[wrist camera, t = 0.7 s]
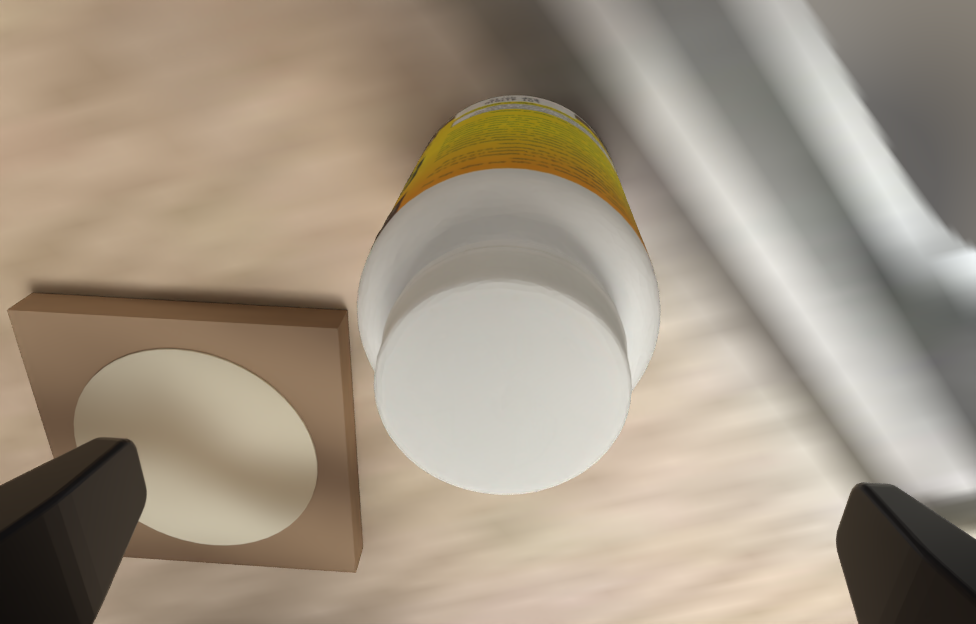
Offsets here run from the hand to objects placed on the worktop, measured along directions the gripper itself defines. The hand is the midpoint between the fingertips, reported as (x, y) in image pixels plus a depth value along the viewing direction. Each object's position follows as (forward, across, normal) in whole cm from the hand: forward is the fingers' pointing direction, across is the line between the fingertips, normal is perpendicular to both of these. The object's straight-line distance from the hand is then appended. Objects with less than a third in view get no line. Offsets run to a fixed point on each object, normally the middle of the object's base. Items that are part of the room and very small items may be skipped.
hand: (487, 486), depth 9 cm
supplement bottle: (+12, 0, 0) cm, 12 cm away
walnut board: (+12, +10, +9) cm, 18 cm away
